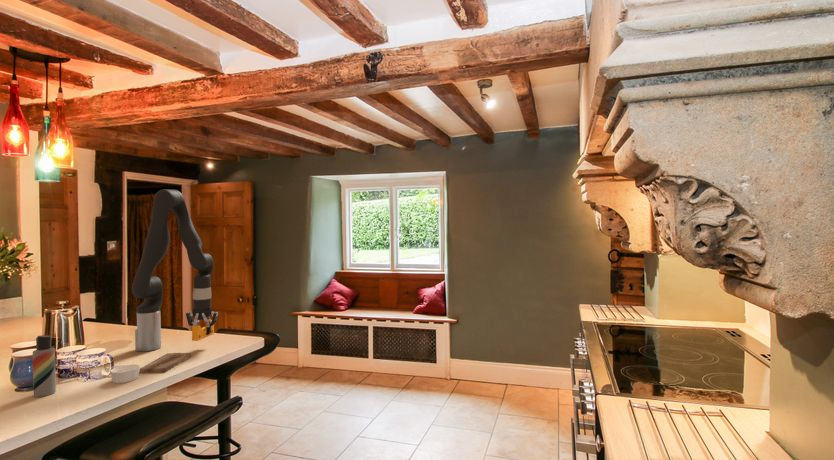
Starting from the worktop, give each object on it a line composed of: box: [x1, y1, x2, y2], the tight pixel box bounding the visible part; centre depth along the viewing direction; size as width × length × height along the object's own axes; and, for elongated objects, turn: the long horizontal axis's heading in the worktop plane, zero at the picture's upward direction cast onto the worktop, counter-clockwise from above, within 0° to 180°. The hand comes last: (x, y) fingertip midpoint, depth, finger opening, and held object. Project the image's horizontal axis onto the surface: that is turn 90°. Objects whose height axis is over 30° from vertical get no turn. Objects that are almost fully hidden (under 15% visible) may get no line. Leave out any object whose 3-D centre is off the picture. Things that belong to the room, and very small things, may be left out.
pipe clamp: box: [191, 319, 215, 342], centre depth 193 cm, size 12×4×6 cm, turn 172°
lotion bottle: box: [32, 334, 57, 398], centre depth 144 cm, size 6×6×20 cm
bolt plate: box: [139, 352, 192, 374], centre depth 174 cm, size 10×20×2 cm, turn 3°
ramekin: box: [109, 363, 140, 384], centre depth 157 cm, size 9×9×4 cm
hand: (202, 334), depth 194 cm, fingers closed on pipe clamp, 4 cm apart
